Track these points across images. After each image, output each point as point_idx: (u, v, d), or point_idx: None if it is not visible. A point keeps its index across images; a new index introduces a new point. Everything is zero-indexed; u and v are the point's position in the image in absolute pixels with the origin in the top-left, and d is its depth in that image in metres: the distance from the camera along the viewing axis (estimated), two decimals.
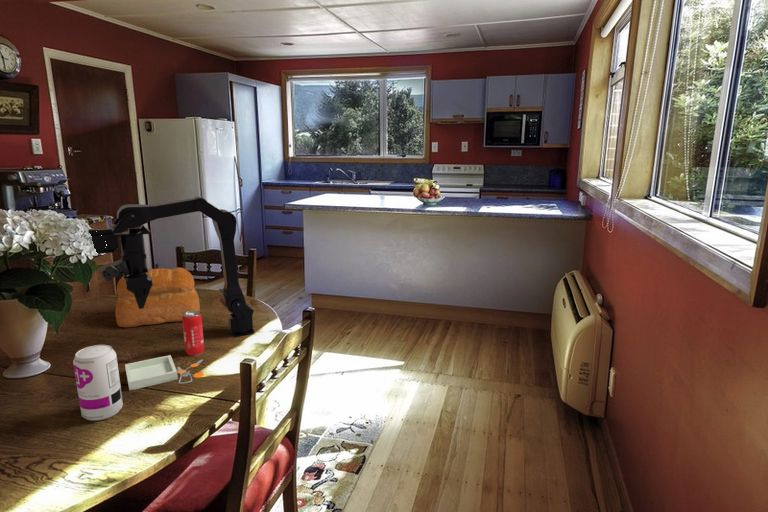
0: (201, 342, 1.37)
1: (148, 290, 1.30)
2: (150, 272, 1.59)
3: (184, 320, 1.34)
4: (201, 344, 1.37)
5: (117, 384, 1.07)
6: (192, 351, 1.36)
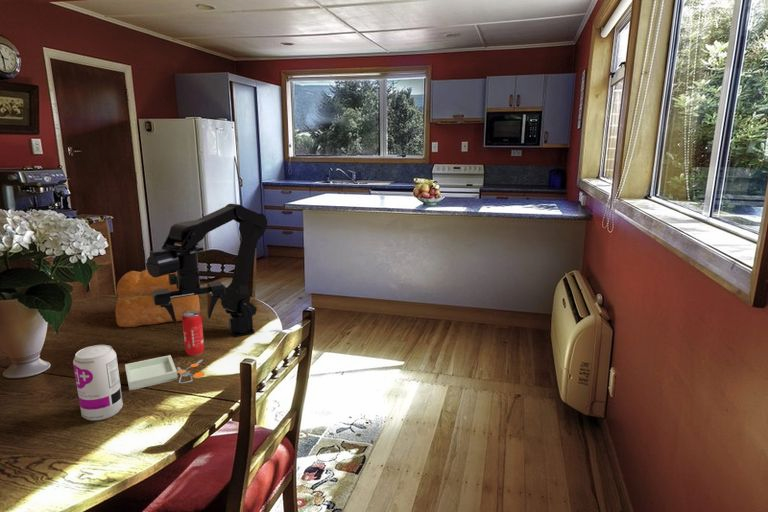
0: (201, 342, 1.37)
1: None
2: None
3: (184, 320, 1.34)
4: (201, 344, 1.37)
5: (117, 384, 1.07)
6: (192, 351, 1.36)
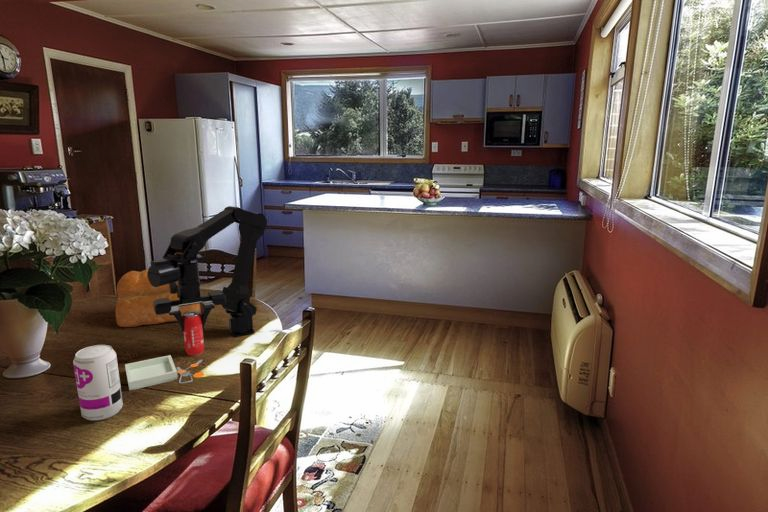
0: (201, 341, 1.37)
1: None
2: None
3: (184, 320, 1.34)
4: (201, 344, 1.37)
5: (117, 384, 1.07)
6: (192, 351, 1.36)
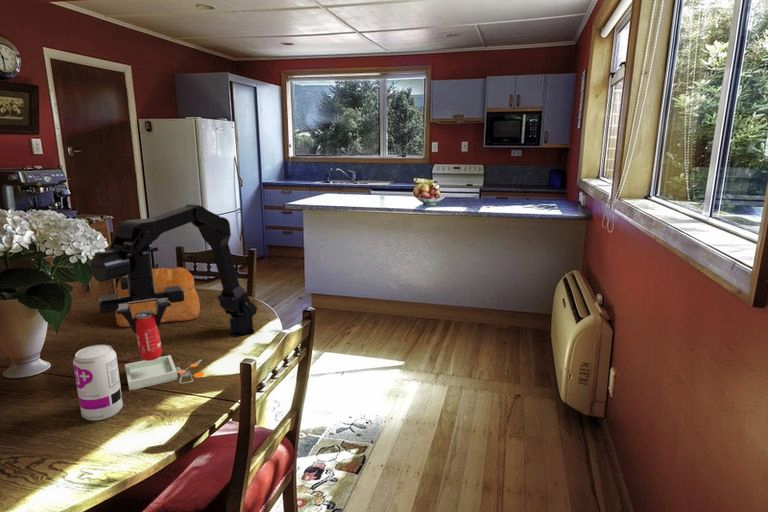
0: (158, 345, 1.22)
1: None
2: None
3: (135, 322, 1.18)
4: (158, 348, 1.22)
5: (117, 384, 1.07)
6: (148, 356, 1.21)
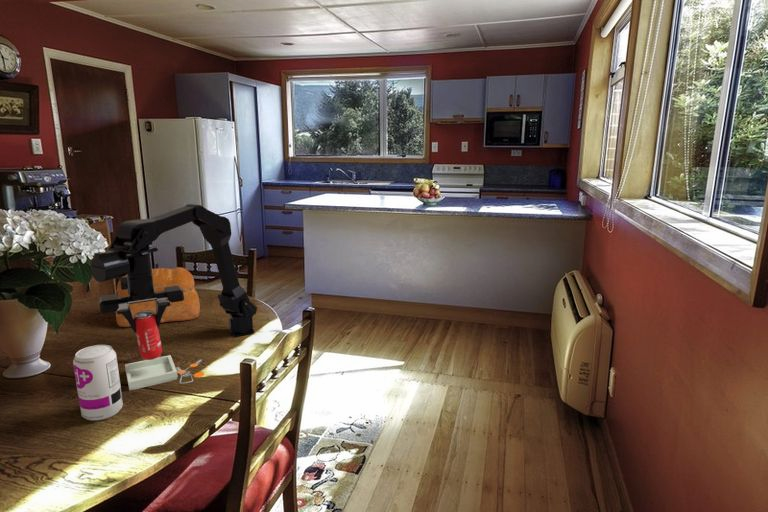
0: (158, 344, 1.23)
1: None
2: None
3: (136, 322, 1.19)
4: (158, 347, 1.23)
5: (117, 384, 1.07)
6: (148, 355, 1.22)
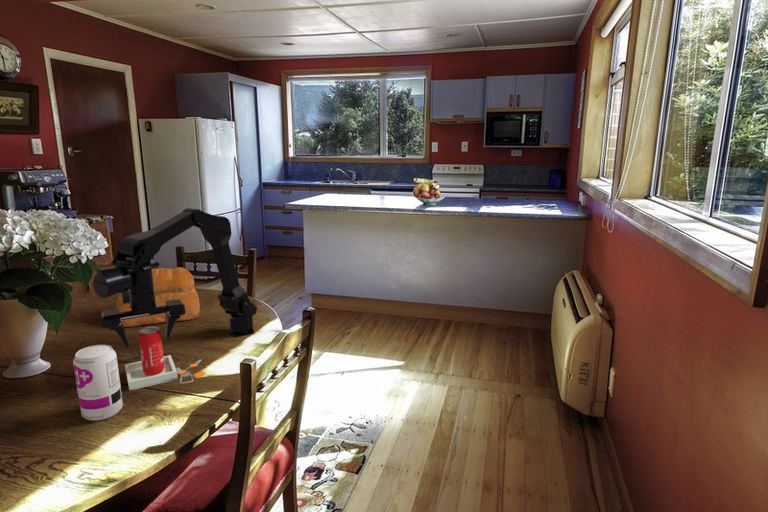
0: (161, 360, 1.24)
1: None
2: None
3: (141, 337, 1.21)
4: (161, 363, 1.24)
5: (117, 384, 1.07)
6: (150, 371, 1.23)
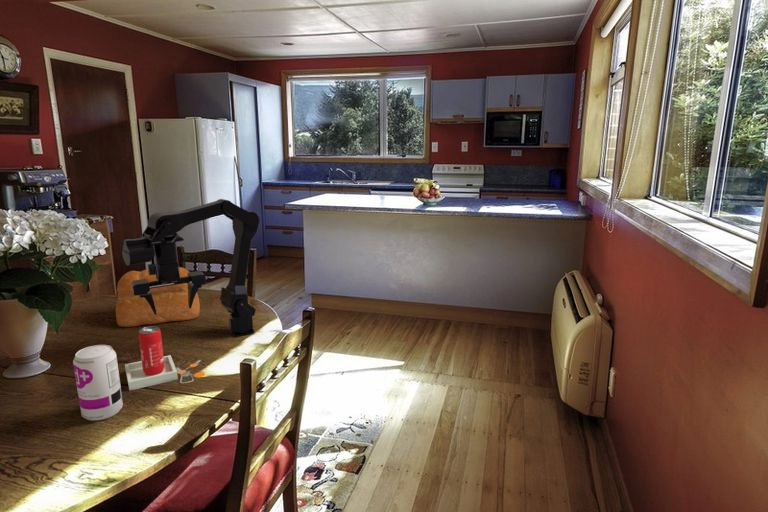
0: (161, 360, 1.24)
1: None
2: None
3: (141, 337, 1.21)
4: (161, 363, 1.24)
5: (117, 384, 1.07)
6: (150, 371, 1.23)
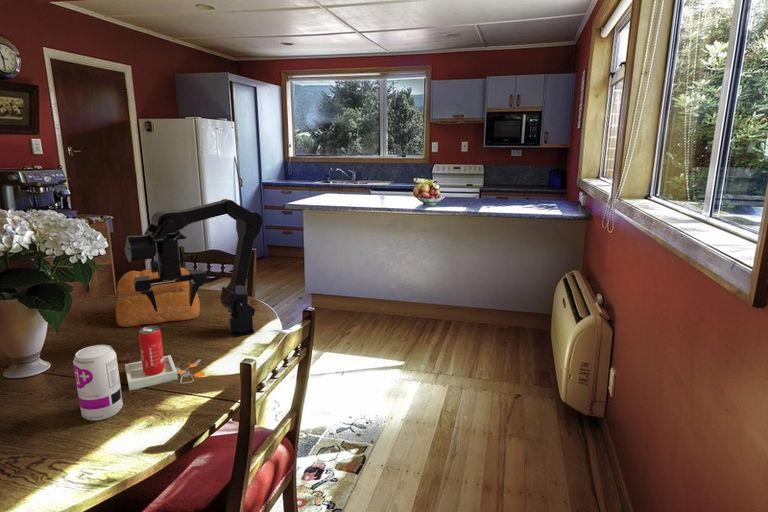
0: (161, 360, 1.24)
1: None
2: (150, 272, 1.59)
3: (141, 337, 1.21)
4: (161, 363, 1.24)
5: (117, 384, 1.07)
6: (150, 371, 1.23)
